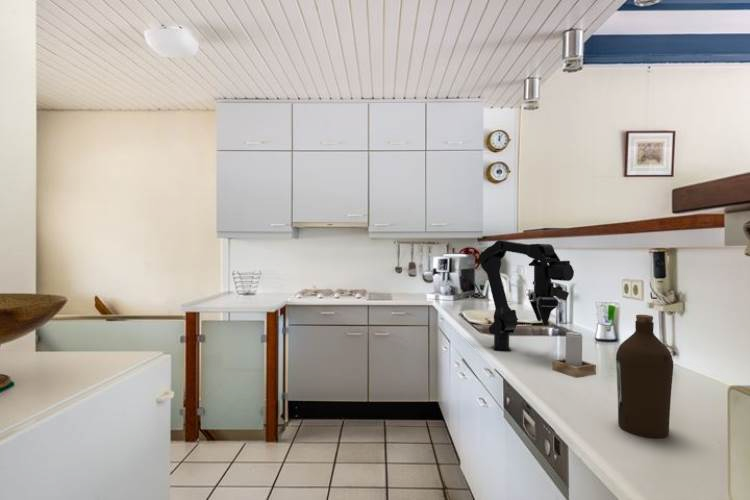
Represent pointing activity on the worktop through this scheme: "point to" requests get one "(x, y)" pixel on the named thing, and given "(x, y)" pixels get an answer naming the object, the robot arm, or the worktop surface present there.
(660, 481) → the worktop surface
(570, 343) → the beverage can
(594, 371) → the walnut socket
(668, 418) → the olive oil
